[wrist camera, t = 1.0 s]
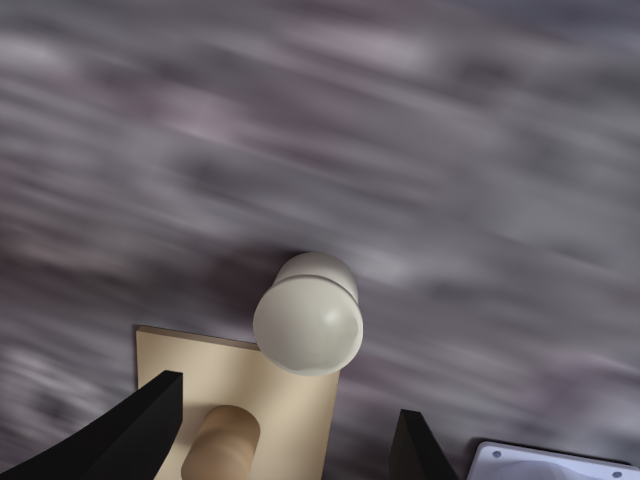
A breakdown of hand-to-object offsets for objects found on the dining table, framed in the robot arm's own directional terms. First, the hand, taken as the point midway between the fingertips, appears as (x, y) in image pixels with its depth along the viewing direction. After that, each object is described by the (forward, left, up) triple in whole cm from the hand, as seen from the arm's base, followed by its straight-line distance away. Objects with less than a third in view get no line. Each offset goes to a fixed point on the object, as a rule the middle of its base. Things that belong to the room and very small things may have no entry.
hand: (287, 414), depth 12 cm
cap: (0, 0, -9) cm, 9 cm away
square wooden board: (+4, +10, -9) cm, 14 cm away
